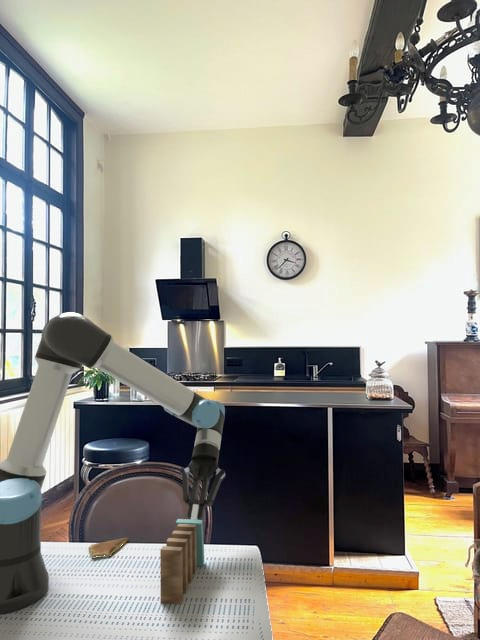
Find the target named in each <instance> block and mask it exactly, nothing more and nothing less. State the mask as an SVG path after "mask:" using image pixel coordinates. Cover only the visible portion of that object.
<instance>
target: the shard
mask: <svg viewBox="0 0 480 640" xmlns="http://www.w3.org/2000/svg"><path fill="white" fill-rule="evenodd" d="M128 539H129V536H126V537H122V538H118V539H112V540H107V541H103V542H102V541H101V542H98V543H94V544H90V545H89V546H88V548H87V549H88V551H89V550H90V551H89V553H90V556H91V555H92V557H91V559H94V558H93V557H96V556H104V555H105V556H110V555H111V556H112V555H113V554H112V553H113V552H114V553H115V552H117V551H118V550H119V549H120V548H121V547H120V546H121V545H122V544H124V545H125V544H126V543H127V542H128ZM119 547H120V548H119ZM118 548H119V549H118ZM117 549H118V550H117ZM96 558H97V557H96Z"/></svg>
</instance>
